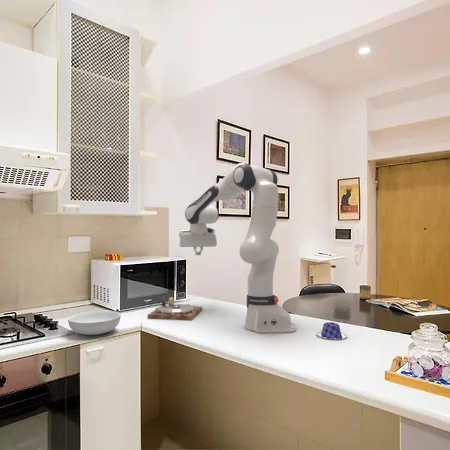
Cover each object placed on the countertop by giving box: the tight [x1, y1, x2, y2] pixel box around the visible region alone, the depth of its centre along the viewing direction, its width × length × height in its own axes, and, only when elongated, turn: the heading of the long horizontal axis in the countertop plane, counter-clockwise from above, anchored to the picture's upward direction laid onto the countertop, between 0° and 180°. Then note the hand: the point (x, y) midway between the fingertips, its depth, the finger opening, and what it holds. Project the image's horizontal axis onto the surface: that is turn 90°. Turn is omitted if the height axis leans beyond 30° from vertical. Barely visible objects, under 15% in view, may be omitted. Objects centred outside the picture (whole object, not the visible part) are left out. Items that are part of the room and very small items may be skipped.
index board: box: [147, 296, 203, 321], centre depth 187 cm, size 22×22×7 cm
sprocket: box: [155, 296, 198, 315], centre depth 187 cm, size 21×21×5 cm
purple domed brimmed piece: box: [315, 321, 348, 340], centre depth 147 cm, size 12×12×5 cm
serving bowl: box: [67, 310, 121, 336], centre depth 154 cm, size 21×21×7 cm
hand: (198, 255), depth 201 cm, fingers closed
